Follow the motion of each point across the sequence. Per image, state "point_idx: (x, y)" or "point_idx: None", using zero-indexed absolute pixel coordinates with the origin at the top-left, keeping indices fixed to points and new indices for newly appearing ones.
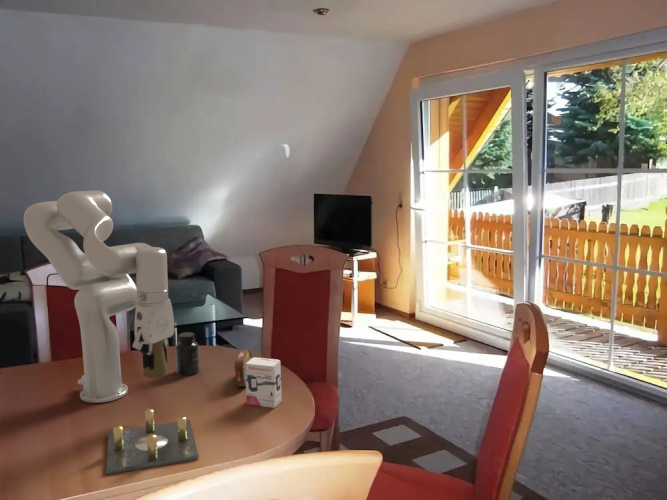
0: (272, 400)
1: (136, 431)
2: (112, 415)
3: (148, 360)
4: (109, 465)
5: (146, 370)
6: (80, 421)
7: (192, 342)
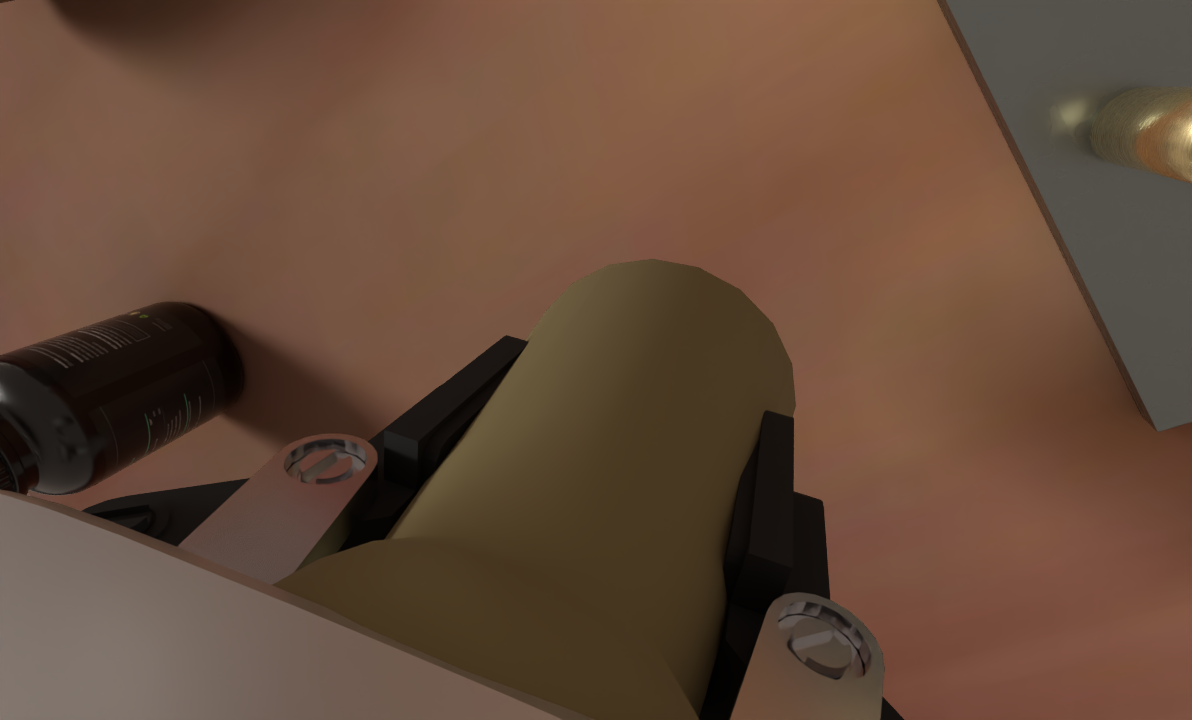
0: None
1: (1167, 230)
2: None
3: (811, 552)
4: None
5: None
6: (909, 634)
7: None
